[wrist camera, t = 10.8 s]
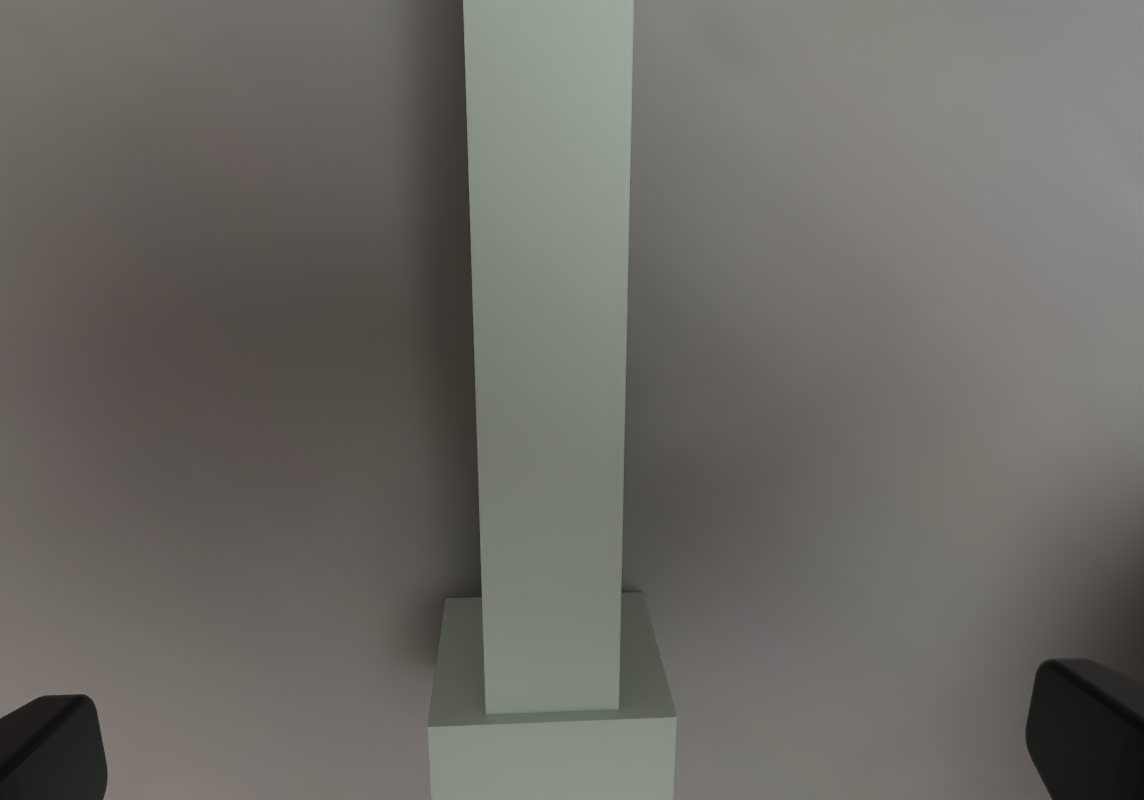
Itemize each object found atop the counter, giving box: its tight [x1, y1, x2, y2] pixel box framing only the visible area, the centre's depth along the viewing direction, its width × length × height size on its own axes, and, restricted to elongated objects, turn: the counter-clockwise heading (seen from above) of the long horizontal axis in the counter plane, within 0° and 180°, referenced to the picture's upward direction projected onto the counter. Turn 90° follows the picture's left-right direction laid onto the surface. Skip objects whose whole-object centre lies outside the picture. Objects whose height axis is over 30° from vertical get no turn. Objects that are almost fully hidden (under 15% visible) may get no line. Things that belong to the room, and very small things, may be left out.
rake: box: [427, 0, 677, 800], centre depth 17 cm, size 23×12×5 cm, turn 0°
